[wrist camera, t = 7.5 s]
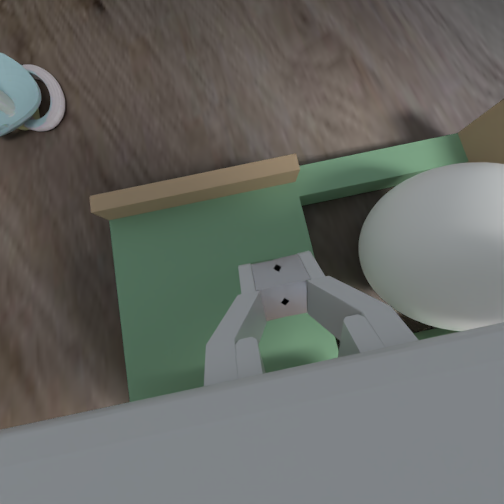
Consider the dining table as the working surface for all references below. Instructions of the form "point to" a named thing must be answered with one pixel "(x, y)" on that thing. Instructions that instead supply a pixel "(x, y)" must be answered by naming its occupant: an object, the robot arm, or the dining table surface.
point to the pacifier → (27, 97)
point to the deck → (243, 248)
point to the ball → (440, 246)
